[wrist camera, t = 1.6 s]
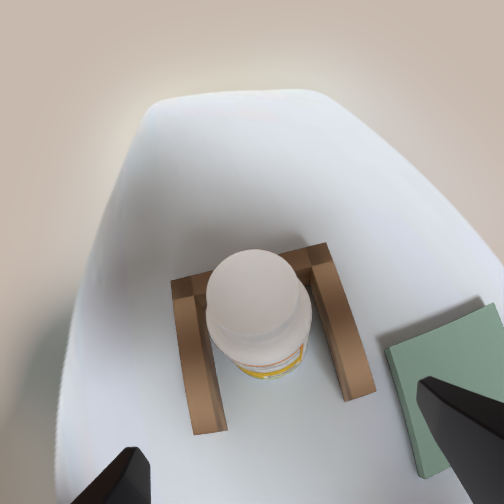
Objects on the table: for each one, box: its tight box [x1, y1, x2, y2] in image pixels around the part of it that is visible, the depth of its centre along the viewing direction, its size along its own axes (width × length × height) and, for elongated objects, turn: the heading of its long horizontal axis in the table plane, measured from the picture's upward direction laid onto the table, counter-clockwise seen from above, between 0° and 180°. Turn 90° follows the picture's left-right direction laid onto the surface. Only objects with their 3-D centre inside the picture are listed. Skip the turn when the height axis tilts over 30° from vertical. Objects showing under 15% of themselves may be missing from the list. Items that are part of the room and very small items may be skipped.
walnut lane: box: [171, 242, 376, 435], centre depth 20 cm, size 10×11×3 cm
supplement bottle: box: [206, 249, 312, 380], centre depth 18 cm, size 5×5×10 cm
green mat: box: [385, 302, 504, 479], centre depth 17 cm, size 10×10×1 cm
